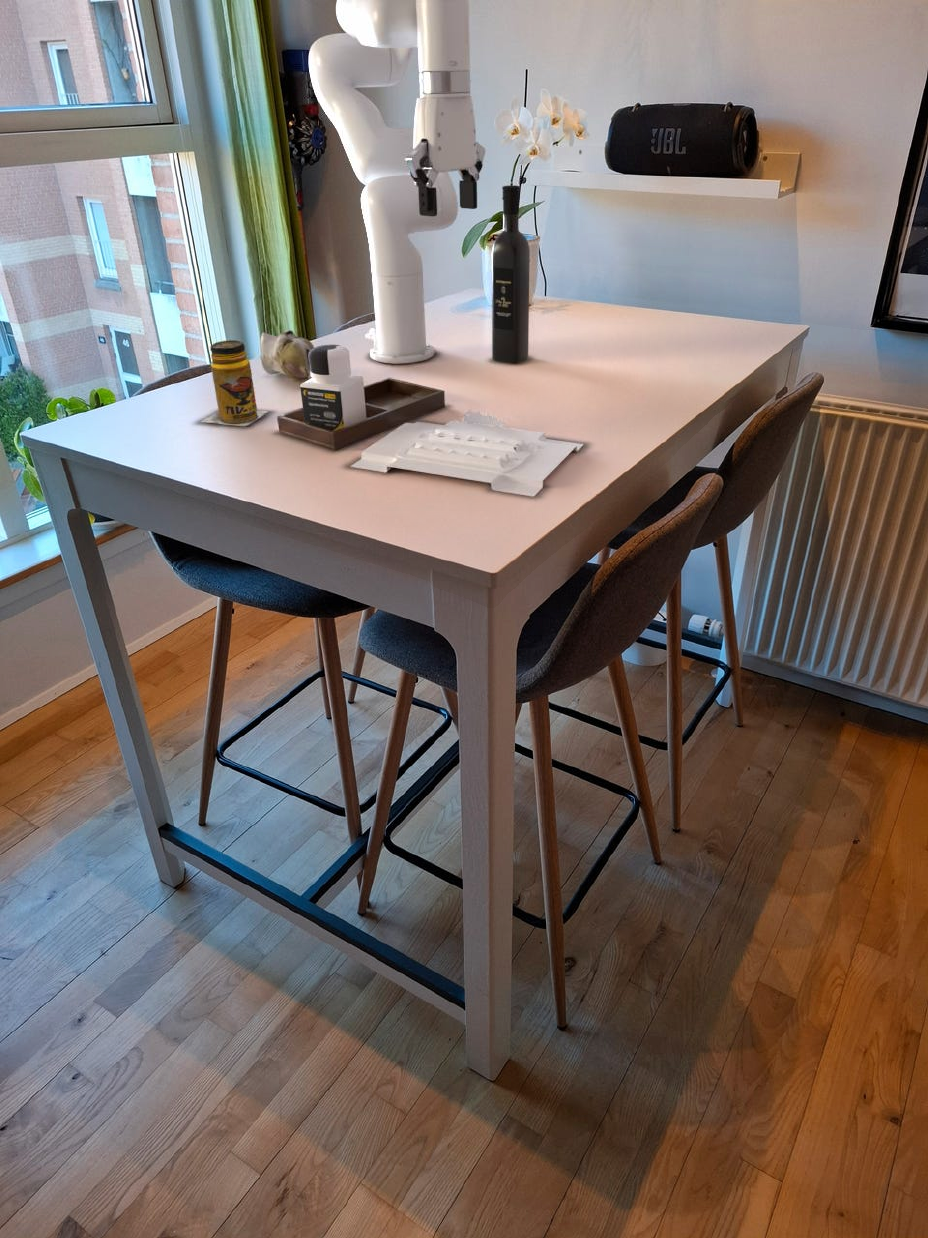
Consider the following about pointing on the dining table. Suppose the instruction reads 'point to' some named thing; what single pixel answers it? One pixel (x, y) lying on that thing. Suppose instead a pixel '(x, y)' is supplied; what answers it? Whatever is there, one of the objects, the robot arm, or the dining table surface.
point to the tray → (471, 452)
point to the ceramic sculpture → (286, 355)
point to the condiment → (233, 385)
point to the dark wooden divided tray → (369, 413)
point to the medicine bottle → (332, 390)
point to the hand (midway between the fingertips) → (448, 211)
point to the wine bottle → (510, 285)
